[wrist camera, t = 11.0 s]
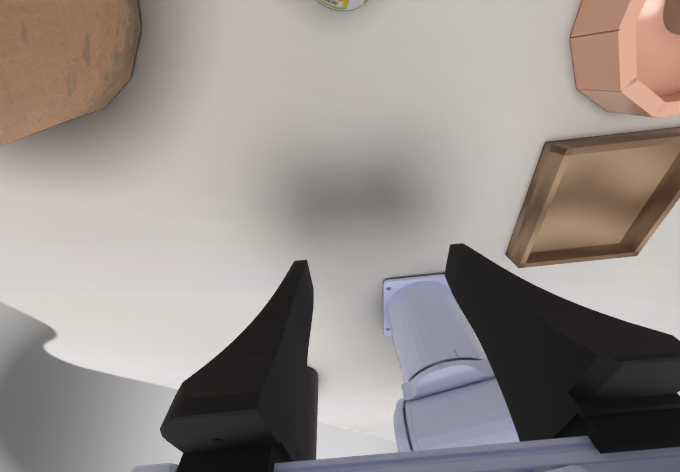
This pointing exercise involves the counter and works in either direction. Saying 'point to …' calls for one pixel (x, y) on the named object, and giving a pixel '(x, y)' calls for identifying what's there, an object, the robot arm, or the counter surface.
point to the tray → (597, 198)
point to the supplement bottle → (343, 4)
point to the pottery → (62, 60)
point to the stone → (672, 16)
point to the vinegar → (311, 414)
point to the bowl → (627, 57)
